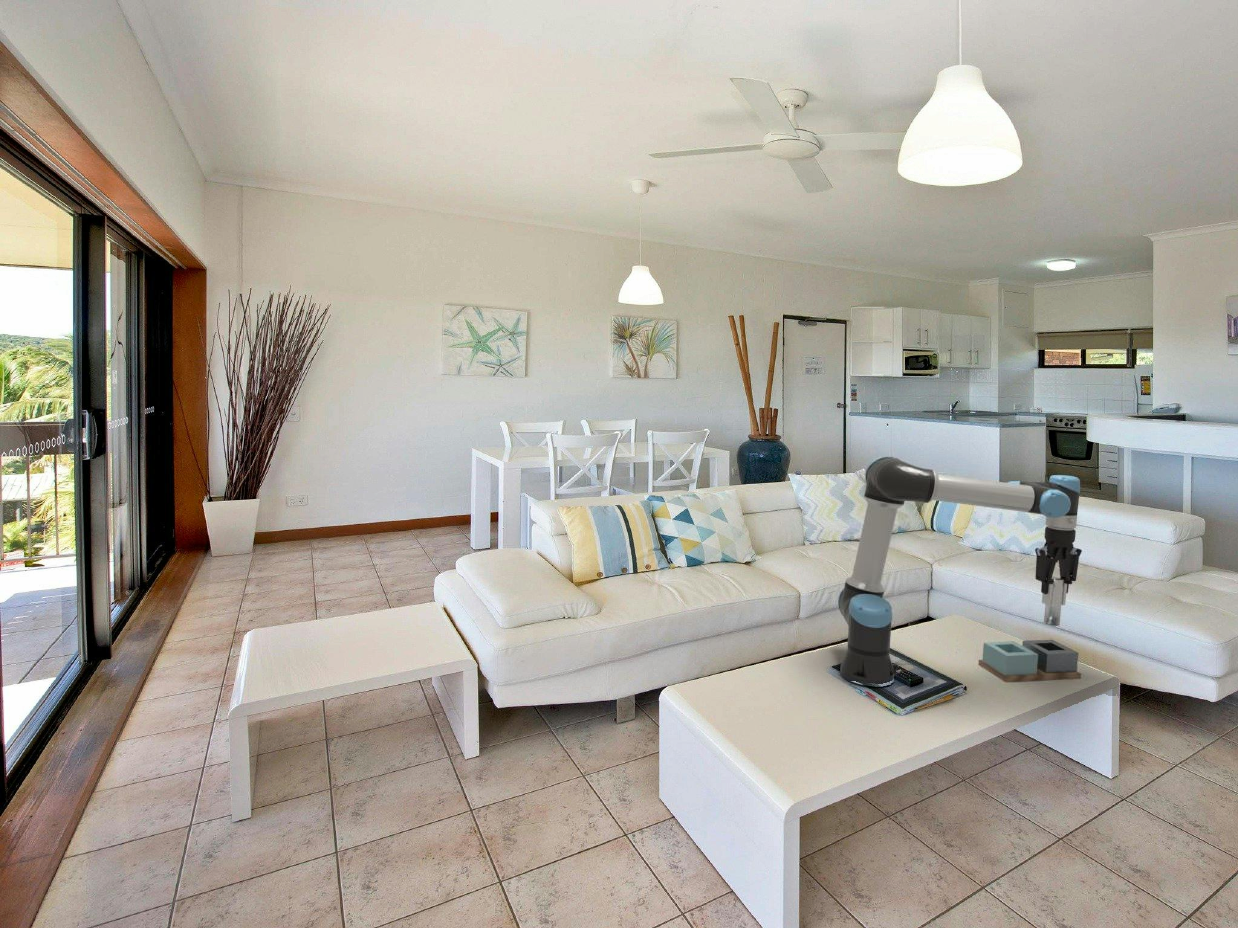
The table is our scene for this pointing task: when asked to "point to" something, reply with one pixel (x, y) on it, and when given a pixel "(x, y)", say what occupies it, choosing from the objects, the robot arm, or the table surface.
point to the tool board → (1030, 675)
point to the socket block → (1053, 656)
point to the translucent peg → (1054, 603)
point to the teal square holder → (1010, 658)
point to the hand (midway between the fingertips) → (1053, 603)
